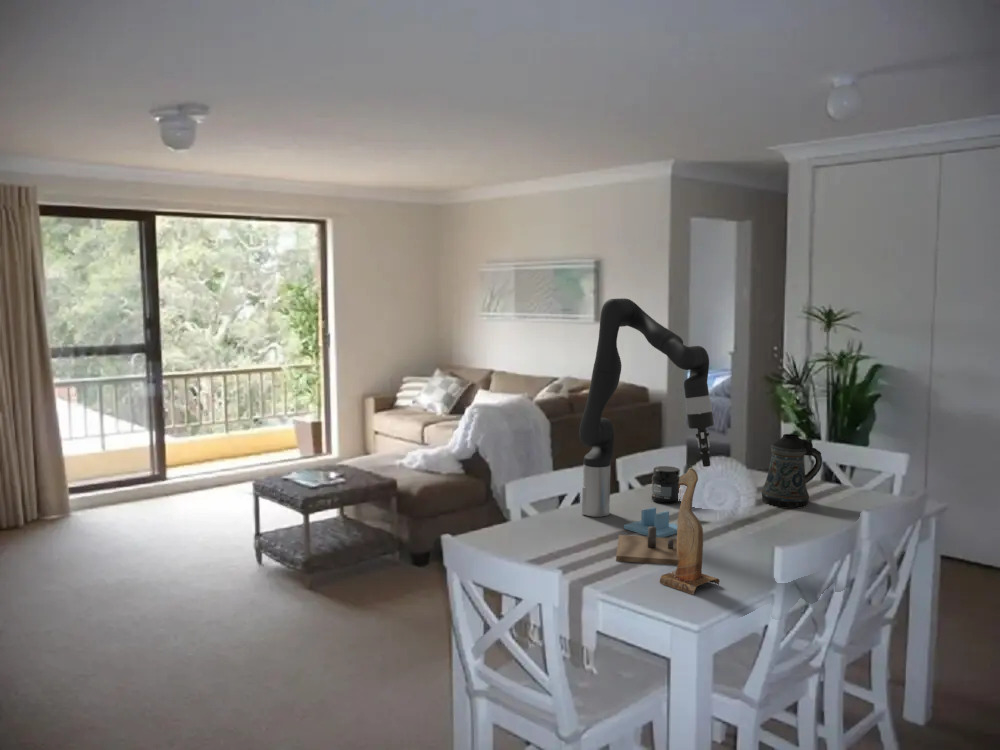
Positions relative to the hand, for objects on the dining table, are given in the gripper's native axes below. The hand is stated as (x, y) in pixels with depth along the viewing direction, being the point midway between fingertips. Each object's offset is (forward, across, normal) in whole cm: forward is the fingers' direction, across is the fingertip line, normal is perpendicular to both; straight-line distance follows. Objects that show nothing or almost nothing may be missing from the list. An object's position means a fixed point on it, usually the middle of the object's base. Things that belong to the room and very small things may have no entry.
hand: (706, 464), depth 250 cm
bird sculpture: (+28, +32, -8) cm, 44 cm away
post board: (+23, +8, -19) cm, 31 cm away
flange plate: (+20, -15, -19) cm, 32 cm away
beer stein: (+23, -61, +27) cm, 70 cm away
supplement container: (+17, -52, -16) cm, 57 cm away
